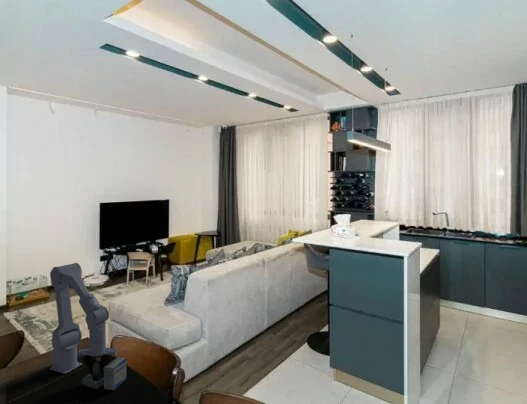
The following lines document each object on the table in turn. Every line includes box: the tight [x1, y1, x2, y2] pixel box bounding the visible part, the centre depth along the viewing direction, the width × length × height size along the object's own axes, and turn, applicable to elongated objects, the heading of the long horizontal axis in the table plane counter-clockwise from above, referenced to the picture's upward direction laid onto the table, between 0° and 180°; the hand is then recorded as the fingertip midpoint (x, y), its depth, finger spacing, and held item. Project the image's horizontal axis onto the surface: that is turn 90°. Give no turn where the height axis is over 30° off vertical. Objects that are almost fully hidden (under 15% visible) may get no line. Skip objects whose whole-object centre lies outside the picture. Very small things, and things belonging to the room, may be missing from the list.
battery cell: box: [92, 357, 104, 381], centre depth 127 cm, size 4×4×8 cm
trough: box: [82, 373, 104, 390], centre depth 127 cm, size 8×8×2 cm
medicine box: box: [103, 356, 127, 391], centre depth 126 cm, size 8×4×9 cm, turn 168°
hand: (98, 373), depth 127 cm, fingers closed on battery cell, 4 cm apart
